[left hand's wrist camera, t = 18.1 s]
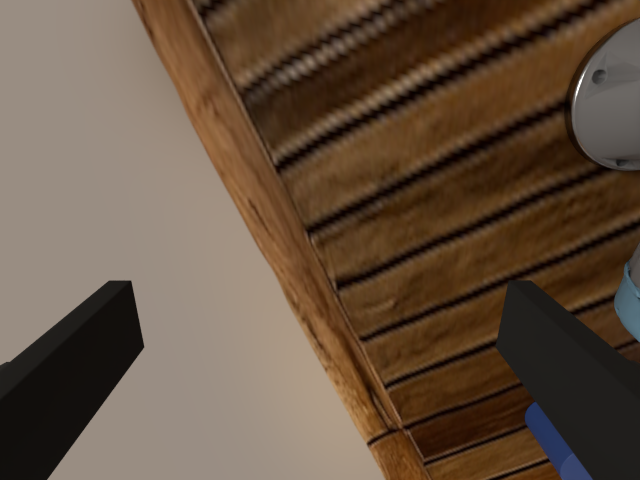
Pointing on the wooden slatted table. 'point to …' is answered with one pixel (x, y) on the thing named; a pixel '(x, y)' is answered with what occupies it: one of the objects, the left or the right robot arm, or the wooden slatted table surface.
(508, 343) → the left robot arm
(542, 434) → the canister
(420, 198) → the wooden slatted table surface
